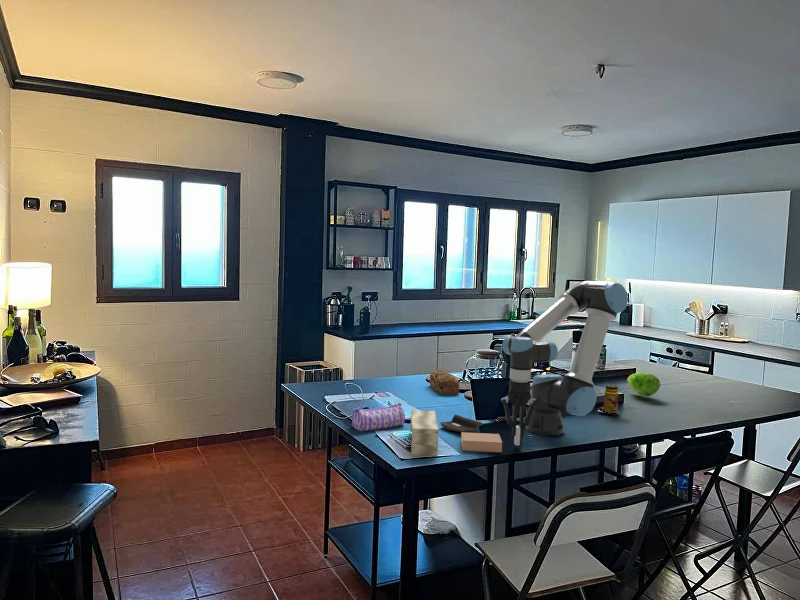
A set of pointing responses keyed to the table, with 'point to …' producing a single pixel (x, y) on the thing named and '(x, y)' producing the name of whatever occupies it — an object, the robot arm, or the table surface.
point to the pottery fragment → (462, 424)
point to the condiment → (610, 399)
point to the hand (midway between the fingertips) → (516, 444)
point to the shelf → (424, 433)
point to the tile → (481, 442)
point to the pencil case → (378, 418)
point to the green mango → (644, 383)
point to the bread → (444, 383)
